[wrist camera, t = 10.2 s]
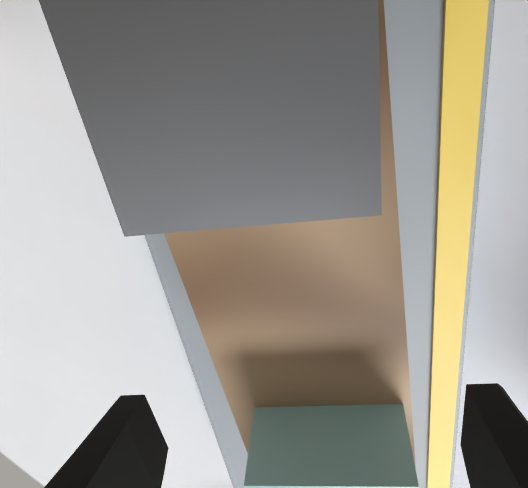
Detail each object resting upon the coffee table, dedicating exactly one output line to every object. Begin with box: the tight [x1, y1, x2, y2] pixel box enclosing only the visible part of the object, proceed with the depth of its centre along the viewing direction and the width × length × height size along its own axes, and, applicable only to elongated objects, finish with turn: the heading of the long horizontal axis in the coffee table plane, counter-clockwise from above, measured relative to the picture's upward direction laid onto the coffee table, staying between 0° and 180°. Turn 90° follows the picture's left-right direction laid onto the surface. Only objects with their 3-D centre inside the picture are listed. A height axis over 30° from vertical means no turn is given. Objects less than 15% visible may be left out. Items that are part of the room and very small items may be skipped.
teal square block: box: [244, 404, 419, 488], centre depth 14 cm, size 4×4×2 cm
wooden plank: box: [164, 0, 416, 468], centre depth 14 cm, size 26×6×4 cm, turn 12°
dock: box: [145, 0, 495, 488], centre depth 17 cm, size 30×11×3 cm, turn 10°
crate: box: [39, 0, 382, 236], centre depth 8 cm, size 4×4×2 cm
